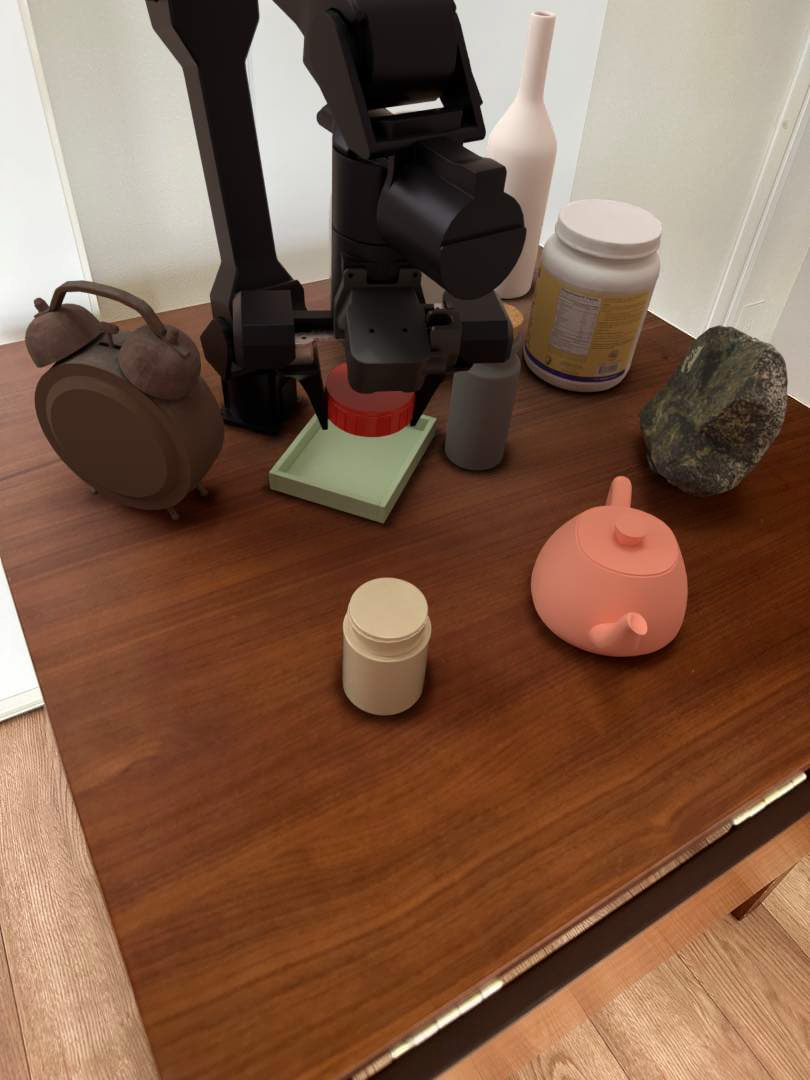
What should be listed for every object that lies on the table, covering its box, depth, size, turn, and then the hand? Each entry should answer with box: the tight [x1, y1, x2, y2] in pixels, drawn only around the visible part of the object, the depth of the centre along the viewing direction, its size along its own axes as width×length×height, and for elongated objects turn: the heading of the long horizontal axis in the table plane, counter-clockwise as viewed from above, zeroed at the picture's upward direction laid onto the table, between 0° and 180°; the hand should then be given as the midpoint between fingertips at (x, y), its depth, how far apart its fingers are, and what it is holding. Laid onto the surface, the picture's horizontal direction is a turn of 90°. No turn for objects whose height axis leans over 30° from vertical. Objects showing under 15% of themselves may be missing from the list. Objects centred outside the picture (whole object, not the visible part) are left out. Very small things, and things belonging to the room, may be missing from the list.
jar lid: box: [324, 362, 416, 437], centre depth 57 cm, size 7×7×2 cm
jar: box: [341, 577, 432, 716], centre depth 54 cm, size 6×6×8 cm
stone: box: [637, 324, 789, 498], centre depth 70 cm, size 15×10×15 cm
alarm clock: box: [24, 279, 225, 521], centre depth 62 cm, size 15×7×20 cm, turn 71°
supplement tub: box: [523, 198, 664, 393], centre depth 83 cm, size 12×12×17 cm
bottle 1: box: [444, 302, 524, 471], centre depth 71 cm, size 6×6×15 cm
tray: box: [268, 412, 438, 524], centre depth 74 cm, size 11×14×2 cm
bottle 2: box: [485, 10, 558, 300], centre depth 91 cm, size 8×8×30 cm
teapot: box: [530, 475, 689, 658], centre depth 59 cm, size 12×18×10 cm
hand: (368, 425), depth 59 cm, fingers closed on jar lid, 6 cm apart
